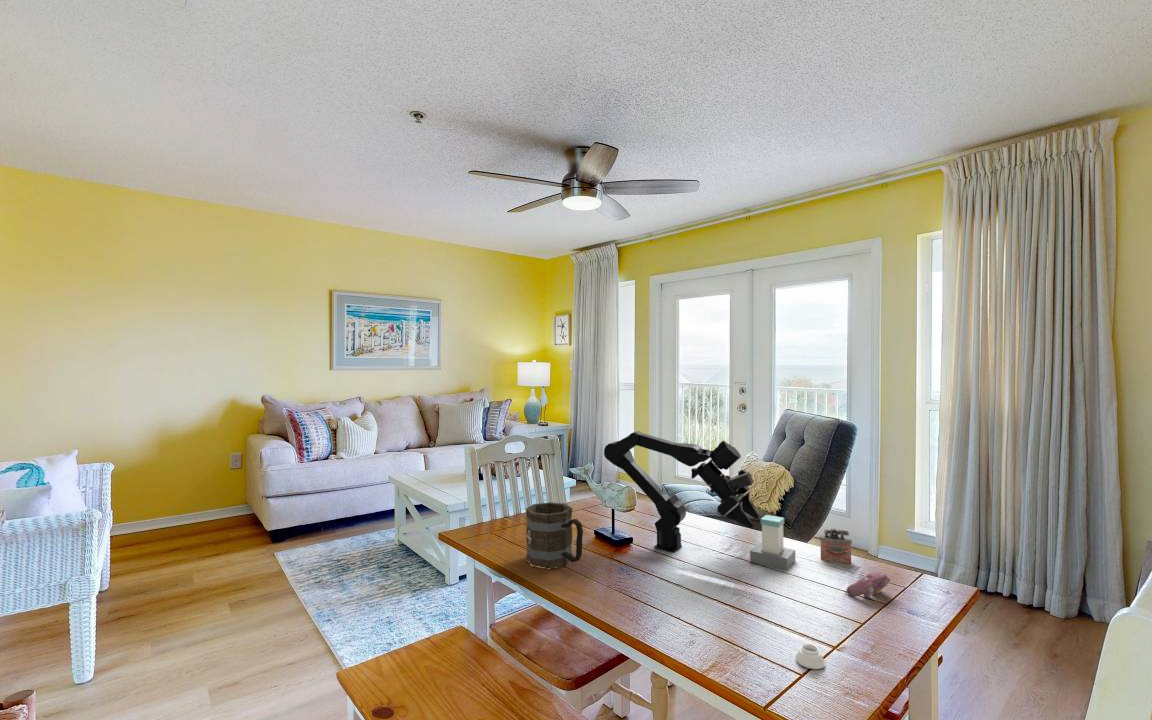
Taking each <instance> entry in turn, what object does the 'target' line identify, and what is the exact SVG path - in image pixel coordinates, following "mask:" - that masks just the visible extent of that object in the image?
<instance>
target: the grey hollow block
mask: <svg viewBox="0 0 1152 720" xmlns="http://www.w3.org/2000/svg"><path fill="white" fill-rule="evenodd" d="M749 558H750V559H749V561H750V563H755V564H757V565H758V564H759V565H763V566H766V567H767V566H768V567H772V568H776V569H780V570H785V571H788V570H789V569H790V568H791V567H792V566H793V564H794V563H795V562H796V549H792V548H787V547H783V552H782V553H781V554H780V555H776V554H771V553H767V552H762V542H758V544H756V545H755V546H754V547H753V548H752V549H750V551H749Z"/></svg>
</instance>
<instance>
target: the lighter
mask: <svg viewBox="0 0 1152 720" xmlns="http://www.w3.org/2000/svg"><path fill="white" fill-rule="evenodd" d="M845 536H847V537H845ZM849 536H850V531H849V530H848V529H847V530H846V529H836V527H832V528H824V534H821V535H819V540H820V560H821V561H824V562H825V561H826V562H828V563H829V562H831V563H838V564H847V565H848V564H852V543H853V542H852V541H853V540H852V538H850V537H849Z"/></svg>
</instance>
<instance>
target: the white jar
mask: <svg viewBox="0 0 1152 720" xmlns="http://www.w3.org/2000/svg"><path fill="white" fill-rule="evenodd" d="M795 661H796V662H797V663H798V664H799V665H800V666H802V667H804V668H806V669H811V670H820V669H823V668H824V667H825V664H826V663H825V662H826V661H825V659H824V657H823V655H822V653H821V652H820V649H819V648H818V647H817V646H816V645H814V644H812V643H803V644H801V646H800V647H799V649H798V650H797V653H796V655H795Z"/></svg>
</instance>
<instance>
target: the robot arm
mask: <svg viewBox="0 0 1152 720" xmlns="http://www.w3.org/2000/svg"><path fill="white" fill-rule="evenodd" d="M636 446H639V447H642V448H644V449H648V450H651V451H654V452H658V453H661V454H663V455H667V456H670V457H672V458H673V459H675V460H676V461H677V462H679V463H682V464H683V465H686V467H687V466H688V467H693V468H691V476H690V477H691V479H695V478H697V476H698V477H700V478H701V480H702V481H703V482H704V484H706V485H707V486H708V487H709V488H710V490H709V492H710V493H711V494H715V495H716V496H717V497H718V498H719V499H720V501H719V502H720V504H719V505H718V506H717V508H716V509H717V513H718V514H719V515H720V516H721V517H724V518H727V519H730V520H732V521H734V522H736V523H739V524H741V525H743V526H745V527H748V528H749V529H752V528H754V527H755V525H754V524H753V522H752V521H751V519H750V517H752V518H753V519H756V520H758V519H759V518H760V515H759V514H758V513H759V512H758V511H757V510H756V508H755V506H754V505H753V503H752V501H751V499H750V498H751V491H750V486H752V485H753V484H754V479H753V477H752V476H753V475H752V474H751V472H750V471H747V470H745V469H744V468H743V469H741V470H739V471H738V473H737V475H736V476H734V477H731V476H730V475H728V474H727V475H726V474H724V473H723V472H722V471H721V470H726V471H728V470H729V469H730V468H731V467H732V466H733V465H734V464H735V463H736V462H737V461H738V460H740V459H741V458H742V456H741V454H740V451H739V450H737V448H735V447H734V446H732V445H731V444H730V443H728V442H727V441H726V440H725V439H724V440H722V441H721V442H719V443H718V445H717V447H715V449H713V450H709V449H705V448H703V447H702V446H701V445H699V444H694V443H686V442H685V443H684V442H682V443H681V442H674V441H670V440H667V439H665V438H661V437H656V436H653V435H650V434H647V433H643V432H642V431H639V430H637V431H633V432H632V433H630V434H629V435H627V436H625V437H624V438H622V439H620V440H616V441H613V442H611V443H608V444H606V446H604V449H603V456H604V457H605V459H606V460H607V461H609V462H610V463H611V464H612V465H614V466H615V467H617V468H619V469H621V470H622V471H624V472H625V473H626V474H627V476H628V477H629V478H630V479H631V480H632V481H633V482H634V483H635V484H636V485H637V487H639V488H640V490H641V491H642V492H643V493H644V494H645V495H646V496H647V497H648V498H649V499H650V500H651V502H652V503H653V504H654V505H655V508H656V511H657V513H658V515H659V516H660V518H659V519H657V521H655V523H654V526H655V529H656V545H654V548H655V549H657V550H662V551H666V552H670V553H674V552H676V551H677V550H679V549H680V548H682V547H683V544H682V534H681V533H680V527H678V526H679V525H680V524H681V522H682V521H683V520H684V519H685V518H686V515H687V508H686V507H685V506H684V504H685V502H683V501H682V500H681V499H679V498H678V496H677V495H676V493H674V494H672V495H669V494H667V493H665V492H664V490H663V489H661V487H660V486H659V485H658V484H657V483H656V482H655V481H654V479H653V478H651V477H650V476H649V474H648V473H647V472H646V471H645V470H644V468H642V467H641V466H640V464H638V463H637V462H636V460H635V459H634V456H633V453H632V451H631V450H632V449H634V448H635V447H636ZM709 459H710V460H709ZM708 460H709V461H708ZM706 461H708V462H707V463H706ZM698 464H699V465H698ZM697 465H698V466H697ZM694 466H697V467H694ZM748 515H749V516H750V517H749V516H748Z"/></svg>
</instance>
